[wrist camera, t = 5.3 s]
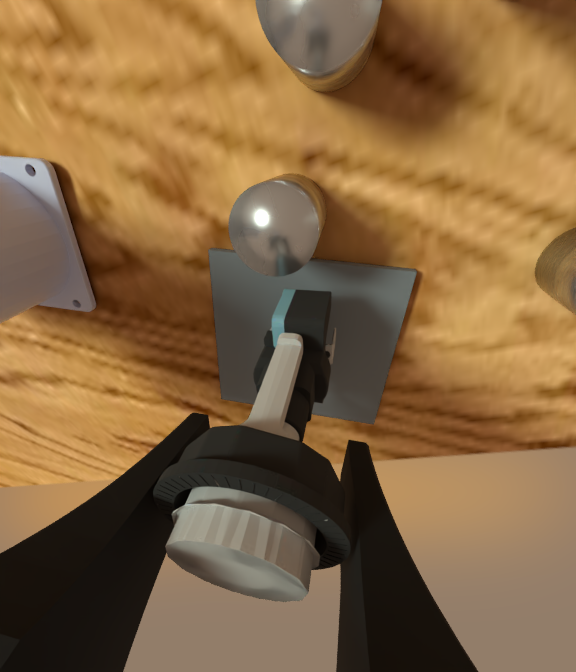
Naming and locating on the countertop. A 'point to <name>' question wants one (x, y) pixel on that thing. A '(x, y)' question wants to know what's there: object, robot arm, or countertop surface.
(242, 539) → the push button
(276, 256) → the cylinder
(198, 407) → the countertop surface
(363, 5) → the cylinder
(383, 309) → the mat
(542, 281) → the cylinder
